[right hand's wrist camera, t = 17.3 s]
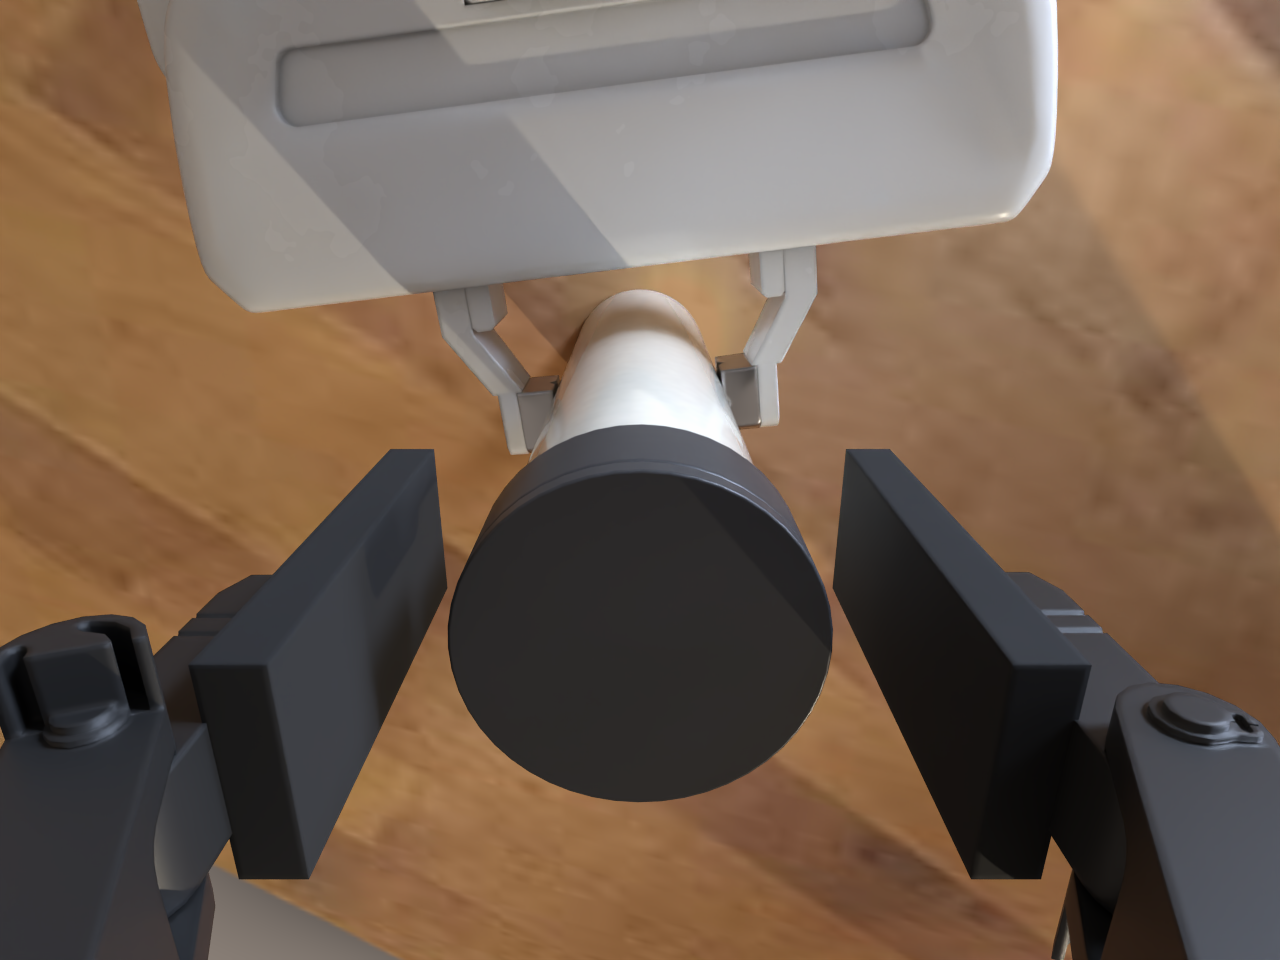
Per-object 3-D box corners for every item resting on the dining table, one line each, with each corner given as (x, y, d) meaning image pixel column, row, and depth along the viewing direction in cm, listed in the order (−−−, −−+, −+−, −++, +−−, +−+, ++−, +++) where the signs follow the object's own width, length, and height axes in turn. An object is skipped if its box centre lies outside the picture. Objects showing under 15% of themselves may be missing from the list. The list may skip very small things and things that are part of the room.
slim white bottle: (609, 433, 29) (565, 799, 12) (555, 321, 28) (414, 552, 10) (722, 384, 28) (849, 696, 11) (672, 267, 27) (731, 418, 10)
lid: (872, 554, 12) (915, 622, 10) (664, 764, 13) (668, 858, 11) (609, 351, 11) (603, 386, 9) (413, 604, 12) (373, 679, 10)
